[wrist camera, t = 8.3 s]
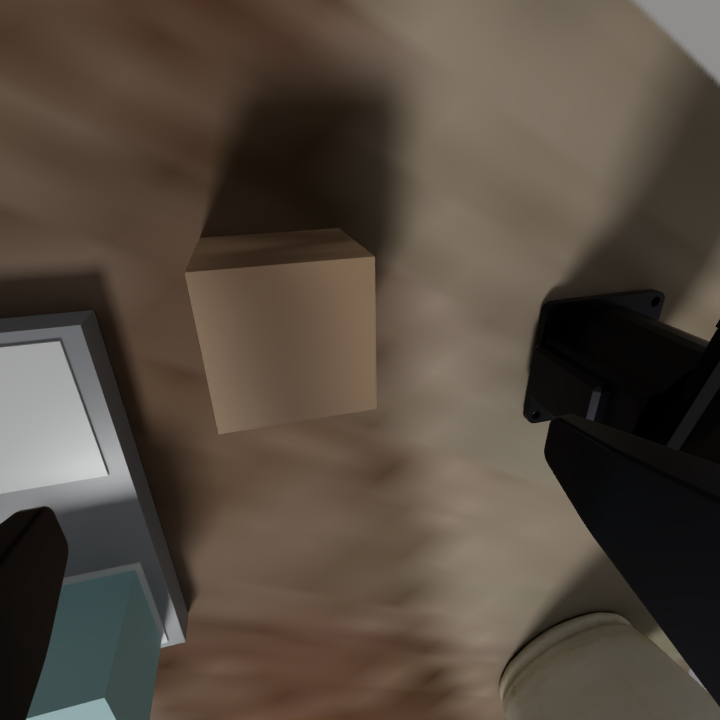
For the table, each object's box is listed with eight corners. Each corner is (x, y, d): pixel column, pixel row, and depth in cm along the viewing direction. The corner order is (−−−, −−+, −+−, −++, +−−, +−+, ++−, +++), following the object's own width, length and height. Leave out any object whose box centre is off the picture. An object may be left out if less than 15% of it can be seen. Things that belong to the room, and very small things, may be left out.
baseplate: (93, 309, 15) (79, 326, 14) (188, 613, 23) (185, 643, 21) (-147, 332, 14) (-190, 353, 12) (39, 649, 21) (25, 683, 20)
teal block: (135, 569, 19) (104, 697, 14) (161, 639, 21) (141, 768, 17) (3, 598, 18) (-74, 745, 13) (46, 668, 20) (-8, 814, 16)
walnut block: (338, 227, 16) (374, 256, 12) (344, 347, 19) (376, 409, 14) (200, 237, 15) (184, 272, 11) (223, 363, 17) (218, 434, 13)
